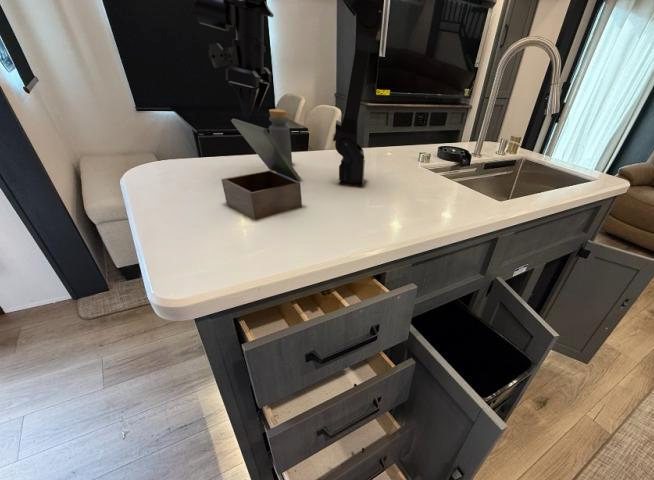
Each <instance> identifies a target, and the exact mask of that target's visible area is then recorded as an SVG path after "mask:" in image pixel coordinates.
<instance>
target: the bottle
mask: <svg viewBox="0 0 654 480" xmlns="http://www.w3.org/2000/svg"><path fill="white" fill-rule="evenodd" d="M268 111H269V115H270V116H269V117H268V120H269V122H271V125H269V126H268V130H269V132H268V133H269V134H270V136H271V137H272V139H273V140H274V141H275V143H276V144H277V146H278V147H279V148H280V150H281V151H282V153H283V154H284V156H285V157H286V158H287V160H288V161H289V163H290V164H291V165H292V166H293V158H292V157H293V156H292V155H293V154H292V142H291V130H290V127H289V126H288V125H287V123H288V117H286V115H287V110H285V109H280V108H271V109H269V110H268Z"/></svg>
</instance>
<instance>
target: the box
mask: <svg viewBox="0 0 654 480" xmlns="http://www.w3.org/2000/svg"><path fill="white" fill-rule="evenodd" d="M221 185H222V189H223V195H224V198H225V202H226V205H227V206H230V208H232V209H234V210H236V211H238V212H240V213H242V215H243V214H244V216H246V217H249V218H250V219H252V220H253V221H257V220H260V219H265V218H268V217H271V216H274V215H275V216H276V215H278V214H283V213H285V212H289V211H292V210H295V209H299V208H302V207H303V200H302V187H301V186H302V185H301V182H300V181H295V180H293V179H291V178H288V177H286V176H283V175H281V174H279V173H276V172H275V171H272V170H270V169H268V170H263V171H258V172H252V173H247V174H240V175H235V176H231V177H223V178H221Z"/></svg>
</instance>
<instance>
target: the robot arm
mask: <svg viewBox="0 0 654 480" xmlns="http://www.w3.org/2000/svg"><path fill="white" fill-rule="evenodd" d="M237 1H239V2H244V5H243V4H240V3H236V2H233V0H193V4H194V5H193V7H194V12H195V16H196V19H197V21H198V23H199V24H200V25H205V26H209V27H211V28H215V29H217V30H222V31H225V32H229V31H230V30H231V27H232V28H233V27H235V38H234V39H233V40H232V41H231V42H232V46H230V47H224V48H223V47H222V46H221V44H220V43H218V42H216V43H215V42H214V43H209V50H207V53H208V59H209V60H211V62H212V65H213V68H215V69H216V68H225V81H227V82H228V84H229V85H230V86H231V87H232V88H233V90H235V91H236V93H237V96H238V100H239V103H240V107H241V111H242V114H243V118H245V119H250V118H251V115H252V113H255V114H257V113H259V110H260V108H261V106H262V103H263V101H264V99H265V96H266V94H267V92H268V89H269V87H270V83H271V82H272V72H271V71H270V70H269V68H268V67H264V65H265V64H264V56H265V55H264V53H266V46H264V43H265V42H264V41H265V39H264V38H265V37H264V36H265V35H264V34H265V31H264V30H265V16H266V17H268V18H274V13H273V12H272V11H271V9H270V7H269V5H268V2H267V1H265V0H262V1H261V2H260V3H258V2H254V1H251V0H237ZM341 1H342V2H343V4H344V5H345V7H346V8H347V9H348V10H349V12H350V13H351V15H352V16H353V17H354V52H353V58H352V63H351V71H350V76H349V83H348V88H347V94H346V100H345V106H344V113H343V116H342V118H341V121H340V120H335V132H334V134H333V138H332V142H334V148H335V150H336V152H337V153H338V154H339V155H340V156H342V157H341V160H340V164H339V166H338V180H339V185H343V186H351V187H359V188H361V187H363V186H364V183H365V181H366V179H365V166H366V165H365V164H366V160H365V153H364V148H362V146H361V145H360V144H359V143H358V124H359V123H358V121H359V120H358V119H359V116H360V115H359V114H360V110H361V103H362V98H363V93H364V89H365V84H366V83H365V82H366V77H367V73H368V67H369V61H370V57H371V53H372V51H373V48H374V46H375V43H376V40H377V37H378V34H379V31H380V29H381V25H382V23H383V12H382V9H381V6H380V5H379V3H378V2H377V1H376V0H341ZM227 66H228V67H227ZM226 67H227V68H226Z"/></svg>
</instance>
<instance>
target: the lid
mask: <svg viewBox="0 0 654 480" xmlns="http://www.w3.org/2000/svg"><path fill="white" fill-rule="evenodd" d="M230 122H231V123H232V125H233V126H234V127H235V128H236V129H237V130H238V132H239V133H240V134H241V136H242V137H243V138H244V139H245V141H246V142H247V144H248V145H249V146H250V147H251V148H252V150H253V151H254V152H255V153H256V155H257V156H258V157H259V159H261V161H262V162H263V164H264V165H265V166H266V167H267V168H268V170H271V171H274V172H277V173H280V174H282V175H285V176H287V177H289V178H292V179H294V180H297V181H298V182H300V181H301V180H302V178H301V177H300V175H299V174H298V172H297V171H296V170H295V168H294V166H293V164H292V165H291V164H290V163H289V161H288V160H287V158H286V157H285V156H284V154H283V153H282V151H281V150H280V148H279V147H278V146H277V144H276V143H275V141H274V140H273V139H272V137H271V136H270V132H268V130H267V128H266V127H262V126H259V125H256V124H253V123H250V122H247V121H243V120H240V119H237V118H232V119H231V120H230Z"/></svg>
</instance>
